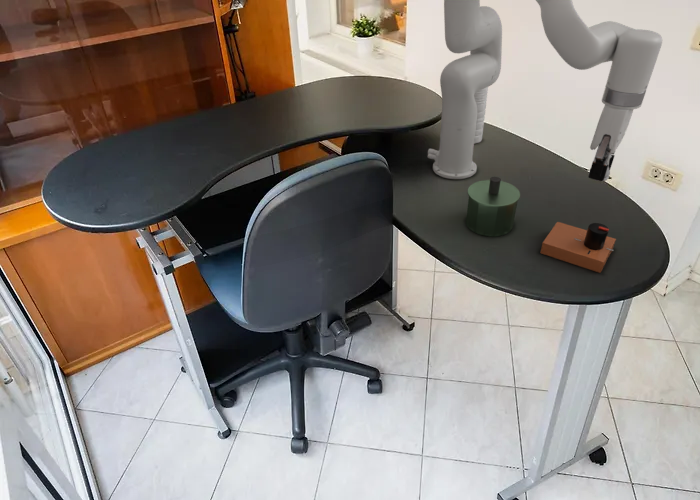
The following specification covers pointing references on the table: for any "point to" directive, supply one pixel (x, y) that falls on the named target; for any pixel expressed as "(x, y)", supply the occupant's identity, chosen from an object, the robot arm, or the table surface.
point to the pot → (490, 219)
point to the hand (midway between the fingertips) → (599, 173)
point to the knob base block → (575, 247)
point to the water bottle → (480, 113)
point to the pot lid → (493, 193)
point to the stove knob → (596, 236)
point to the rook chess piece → (607, 168)
